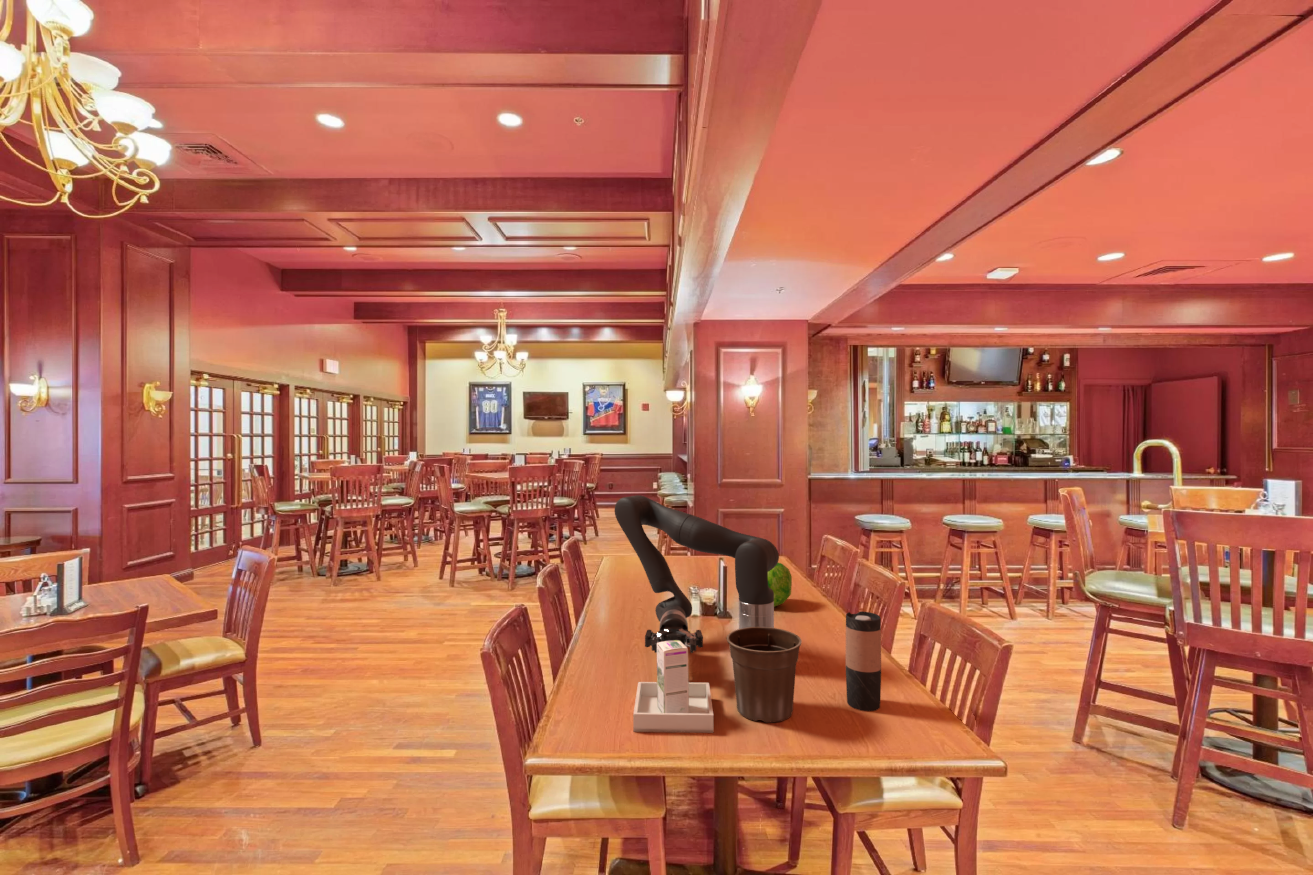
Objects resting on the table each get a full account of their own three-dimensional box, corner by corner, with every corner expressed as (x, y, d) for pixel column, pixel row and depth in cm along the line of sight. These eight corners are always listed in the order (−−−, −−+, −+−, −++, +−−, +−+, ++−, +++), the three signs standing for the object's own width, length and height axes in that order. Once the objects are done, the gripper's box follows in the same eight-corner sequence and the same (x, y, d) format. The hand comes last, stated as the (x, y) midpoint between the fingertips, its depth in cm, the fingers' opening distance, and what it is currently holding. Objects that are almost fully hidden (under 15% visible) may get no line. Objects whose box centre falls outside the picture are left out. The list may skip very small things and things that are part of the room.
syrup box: (689, 714, 129) (689, 647, 129) (663, 718, 127) (663, 650, 127) (681, 703, 134) (681, 638, 134) (656, 706, 132) (655, 641, 133)
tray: (708, 698, 138) (708, 682, 138) (713, 732, 122) (713, 714, 122) (638, 697, 139) (638, 681, 139) (633, 731, 122) (633, 714, 122)
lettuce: (778, 600, 228) (753, 566, 231) (810, 583, 213) (783, 546, 216) (751, 624, 217) (725, 588, 220) (783, 607, 202) (755, 568, 205)
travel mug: (877, 714, 130) (877, 622, 130) (841, 706, 134) (841, 617, 134) (884, 701, 136) (884, 614, 136) (850, 694, 140) (850, 609, 140)
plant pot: (765, 736, 120) (764, 656, 121) (712, 707, 133) (711, 635, 134) (817, 714, 130) (817, 640, 130) (763, 689, 143) (762, 622, 143)
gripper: (646, 613, 158) (643, 632, 142) (700, 613, 157) (704, 632, 141) (646, 641, 158) (644, 664, 141) (700, 641, 157) (704, 664, 141)
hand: (673, 648), depth 141 cm, fingers open, 8 cm apart
